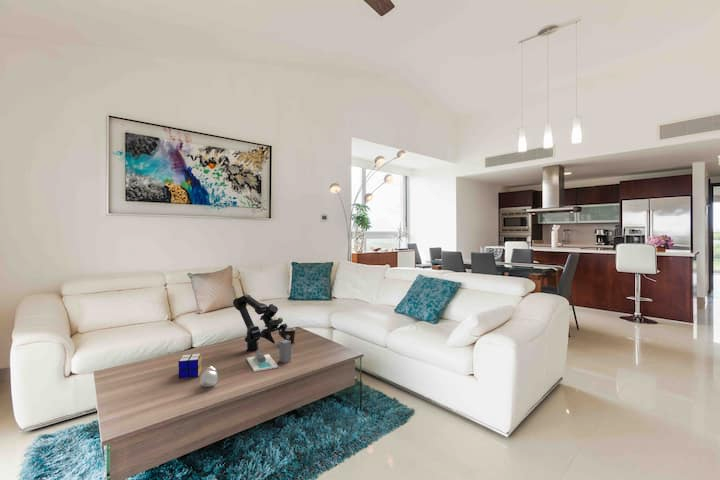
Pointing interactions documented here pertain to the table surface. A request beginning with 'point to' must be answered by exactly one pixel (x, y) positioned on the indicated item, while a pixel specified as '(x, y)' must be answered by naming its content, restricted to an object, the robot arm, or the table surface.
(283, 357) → the pillar
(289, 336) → the coffee mug
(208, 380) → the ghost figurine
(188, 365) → the puzzle cube
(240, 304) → the robot arm
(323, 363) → the table surface
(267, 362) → the baseplate
